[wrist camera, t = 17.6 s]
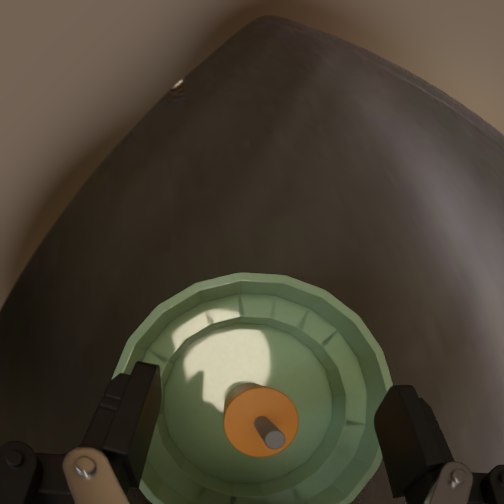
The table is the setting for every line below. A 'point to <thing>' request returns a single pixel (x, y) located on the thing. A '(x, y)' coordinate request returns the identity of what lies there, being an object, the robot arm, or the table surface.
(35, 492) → the robot arm
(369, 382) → the green round bowl
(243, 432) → the screwdriver
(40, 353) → the table surface
